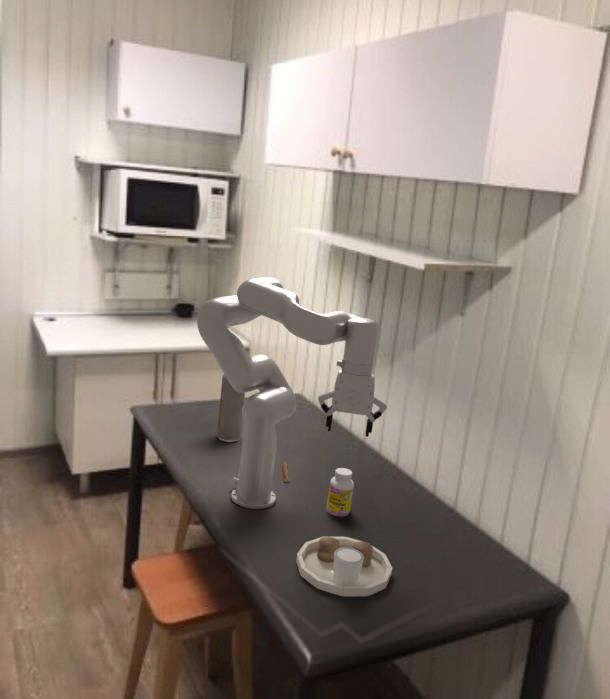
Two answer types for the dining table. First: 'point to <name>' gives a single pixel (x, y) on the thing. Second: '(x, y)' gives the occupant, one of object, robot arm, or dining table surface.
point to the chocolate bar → (285, 472)
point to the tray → (322, 572)
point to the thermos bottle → (230, 412)
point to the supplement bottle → (340, 493)
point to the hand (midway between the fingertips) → (348, 432)
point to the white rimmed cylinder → (347, 566)
